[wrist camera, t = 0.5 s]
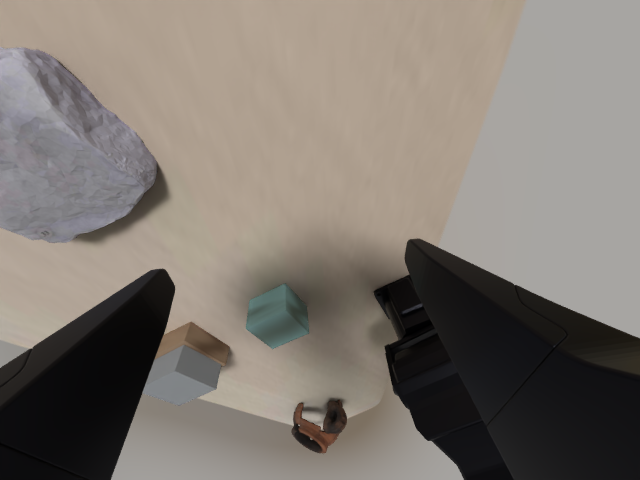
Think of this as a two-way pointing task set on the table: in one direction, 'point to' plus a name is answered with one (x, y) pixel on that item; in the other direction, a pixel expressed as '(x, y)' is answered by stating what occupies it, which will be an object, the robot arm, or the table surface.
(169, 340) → the walnut base block
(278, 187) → the table surface
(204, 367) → the grey middle block
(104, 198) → the stone block
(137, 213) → the table surface
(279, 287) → the teal block
